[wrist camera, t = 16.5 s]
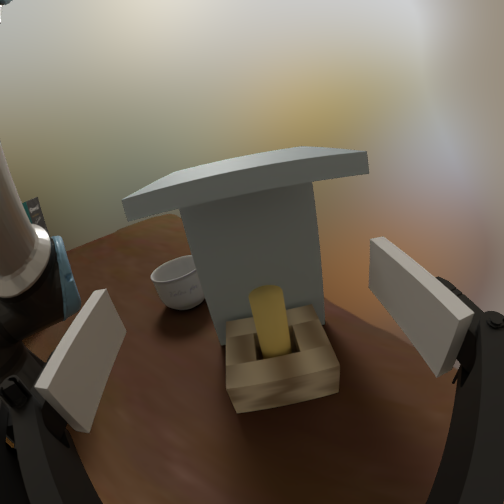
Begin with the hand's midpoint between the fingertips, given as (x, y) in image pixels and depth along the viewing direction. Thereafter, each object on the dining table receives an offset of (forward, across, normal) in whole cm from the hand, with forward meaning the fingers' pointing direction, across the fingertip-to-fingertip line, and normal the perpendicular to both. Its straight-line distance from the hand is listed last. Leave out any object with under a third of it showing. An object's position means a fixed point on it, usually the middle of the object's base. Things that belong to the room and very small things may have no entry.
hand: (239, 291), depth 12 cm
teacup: (+36, -12, -22) cm, 44 cm away
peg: (+13, +2, -21) cm, 25 cm away
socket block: (+13, +2, -21) cm, 25 cm away
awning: (+13, +2, -21) cm, 25 cm away
